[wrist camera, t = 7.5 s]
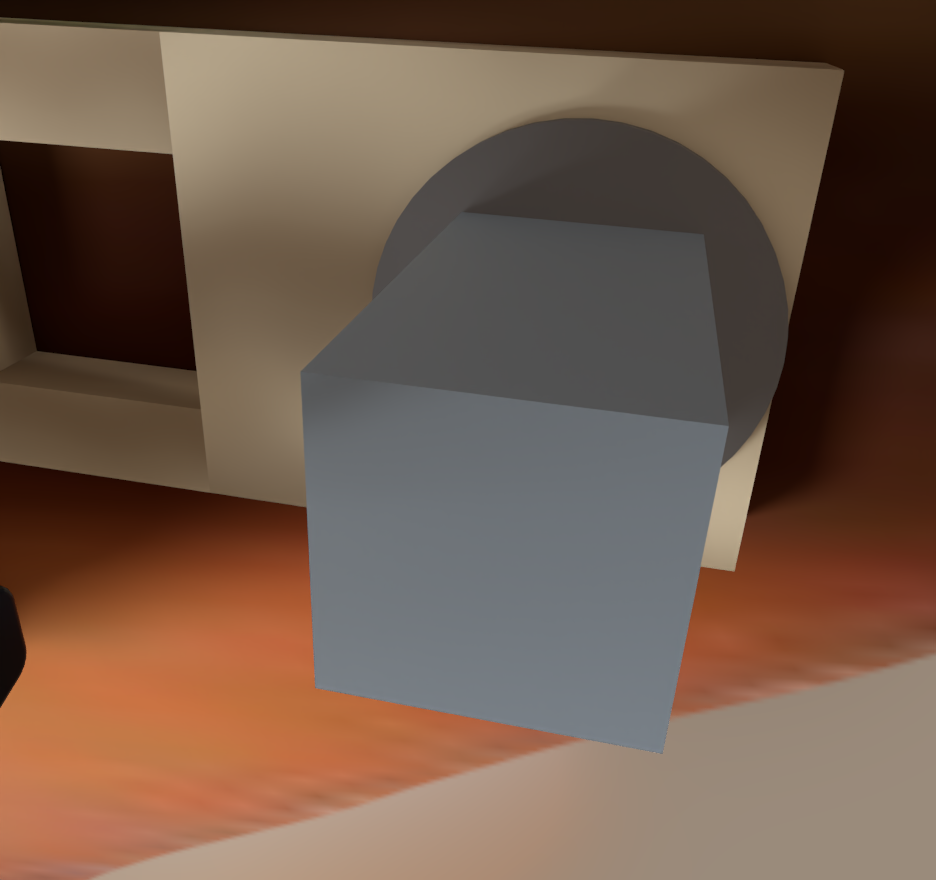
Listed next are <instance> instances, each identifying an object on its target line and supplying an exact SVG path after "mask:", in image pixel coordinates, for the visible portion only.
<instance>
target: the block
mask: <svg viewBox="0 0 936 880" xmlns="http://www.w3.org/2000/svg"><path fill="white" fill-rule="evenodd" d="M300 375H301V396H302V417H303V438H304V459H305V480H306V501H307V522H308V543H309V564H310V585H311V606H312V627H313V649H314V670H315V688H318V689H323V690H329V691H334V692H339V693H345V694H350V695H355V696H360V697H366V698H371V699H376V700H381V701H387V702H392V703H397V704H403V705H408V706H413V707H418V708H424V709H429V710H434V711H439V712H445V713H450V714H455V715H461V716H466V717H471V718H476V719H482V720H487V721H492V722H497V723H503V724H508V725H513V726H518V727H524V728H529V729H534V730H540V731H545V732H550V733H555V734H561V735H566V736H571V737H576V738H582V739H587V740H592V741H598V742H603V743H608V744H614V745H619V746H624V747H629V748H635V749H640V750H645V751H650V752H656V753H661V754H662V753H663V749H664V744H665V739H666V734H667V729H668V724H669V719H670V714H671V709H672V704H673V699H674V695H675V690H676V685H677V680H678V675H679V670H680V665H681V660H682V655H683V650H684V645H685V640H686V635H687V630H688V626H689V621H690V616H691V611H692V606H693V601H694V596H695V591H696V586H697V581H698V576H699V571H700V566H701V561H702V557H703V552H704V547H705V542H706V537H707V532H708V527H709V522H710V517H711V512H712V507H713V502H714V497H715V492H716V488H717V483H718V478H719V473H720V468H721V463H722V458H723V453H724V448H725V443H726V438H727V433H728V428H729V423H728V415H727V408H726V400H725V392H724V385H723V377H722V370H721V362H720V354H719V347H718V339H717V331H716V324H715V316H714V309H713V301H712V293H711V286H710V278H709V271H708V263H707V255H706V248H705V240H704V234H695V233H684V232H674V231H663V230H652V229H641V228H630V227H619V226H609V225H598V224H587V223H576V222H565V221H555V220H544V219H533V218H522V217H511V216H500V215H490V214H479V213H468V212H461V213H460V214H459V215H458V216H457V217H456V218H455V219H454V220H453V221H452V222H451V223H450V224H449V225H448V226H447V227H446V228H445V229H444V230H443V231H442V232H441V233H440V234H439V235H438V236H437V237H436V238H435V239H434V240H433V241H432V242H431V243H430V244H429V245H428V246H427V247H426V248H425V249H424V250H423V251H422V252H421V253H420V254H419V255H418V256H417V257H416V258H415V259H414V260H413V261H412V262H411V263H410V264H409V265H408V266H407V267H406V268H405V269H404V270H403V271H402V272H401V273H400V274H399V275H398V276H397V277H396V278H394V279H393V280H392V281H391V282H390V283H389V284H388V285H387V286H386V287H385V288H384V289H383V290H382V291H381V292H380V293H379V294H378V295H377V296H376V297H375V298H374V299H373V300H372V301H371V302H370V303H369V304H368V305H367V306H366V307H365V308H364V309H363V310H362V311H361V312H360V313H359V314H358V315H357V316H356V317H355V318H354V319H353V320H352V321H351V322H350V323H349V324H348V325H347V326H346V327H345V328H344V329H343V330H342V331H341V332H340V333H339V334H338V335H337V336H336V337H335V338H334V339H333V340H332V341H331V342H330V343H329V344H328V345H327V346H326V347H325V348H324V349H323V350H322V351H321V352H320V353H319V354H318V355H317V356H316V357H315V358H314V359H313V360H312V361H311V362H310V363H309V364H308V365H307V366H306V367H305V368H304V369H303V370H302V371H301V372H300Z"/></svg>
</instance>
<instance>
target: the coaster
mask: <svg viewBox="0 0 936 880" xmlns="http://www.w3.org/2000/svg"><path fill="white" fill-rule="evenodd" d="M461 212H468V213H479V214H490V215H500V216H511V217H522V218H533V219H544V220H555V221H565V222H576V223H587V224H598V225H609V226H619V227H630V228H641V229H652V230H663V231H674V232H684V233H695V234H704V240H705V248H706V255H707V263H708V271H709V278H710V286H711V293H712V301H713V309H714V316H715V324H716V331H717V339H718V347H719V354H720V362H721V370H722V377H723V385H724V392H725V400H726V408H727V415H728V423H729V428H728V433H727V438H726V443H725V448H724V453H723V458H722V463H721V467H722V466H723V465H724V464H725V463H726V462H727V461H728V460H729V459H730V458H731V457H733V456H734V455H735V454H736V452H737V451H738V450H739V449H740V448H741V447H742V445H743V444H744V443H745V442H746V441H747V439H748V438H749V437H750V436H751V435H752V433H753V432H754V430H755V428H756V427H757V425H758V424H759V422H760V421H761V419H762V417H763V416H764V414H765V413H766V411H767V408H768V406H769V404H770V402H771V400H772V398H773V395H774V393H775V391H776V389H777V386H778V382H779V379H780V375H781V372H782V369H783V365H784V361H785V354H786V347H787V341H788V304H787V298H786V291H785V284H784V279H783V276H782V273H781V269H780V266H779V263H778V259H777V256H776V253H775V251H774V248H773V246H772V244H771V242H770V240H769V237H768V235H767V233H766V231H765V229H764V227H763V225H762V223H761V221H760V220H759V218H758V217H757V215H756V214H755V212H754V211H753V209H752V207H751V206H750V204H749V203H748V201H747V200H746V199H745V197H744V196H743V195H742V194H741V193H740V192H739V191H738V190H737V188H736V187H735V186H734V185H733V184H732V183H731V182H730V181H729V179H728V178H727V177H726V176H724V175H723V174H722V173H721V172H720V171H718V170H717V169H716V168H715V167H714V166H713V165H711V164H710V163H709V162H708V161H707V160H705V159H704V158H703V157H701V156H699V155H698V154H696V153H695V152H693V151H691V150H690V149H688V148H687V147H685V146H683V145H682V144H680V143H679V142H676V141H674V140H672V139H670V138H667V137H665V136H663V135H660V134H658V133H656V132H654V131H651V130H648V129H644V128H641V127H637V126H634V125H630V124H627V123H623V122H617V121H609V120H602V119H595V118H562V119H555V120H548V121H541V122H534V123H530V124H527V125H523V126H520V127H516V128H513V129H509V130H506V131H504V132H502V133H499V134H497V135H495V136H493V137H490V138H488V139H486V140H484V141H481V142H479V143H478V144H476V145H475V146H473V147H471V148H470V149H468V150H467V151H465V152H463V153H462V154H460V155H458V156H457V157H455V158H454V159H453V160H451V161H450V162H449V163H448V164H447V165H445V166H444V167H443V168H442V169H440V170H439V171H438V172H437V173H436V174H434V175H433V176H432V177H431V178H430V179H429V180H428V181H427V182H426V183H425V184H424V186H423V187H422V188H421V189H420V190H419V191H418V192H417V193H416V194H415V195H414V196H413V198H412V199H411V200H410V202H409V203H408V205H407V206H406V208H405V209H404V211H403V212H402V214H401V215H400V216H399V218H398V219H397V221H396V223H395V225H394V227H393V229H392V231H391V233H390V235H389V237H388V239H387V241H386V243H385V246H384V249H383V252H382V255H381V258H380V261H379V264H378V267H377V272H376V277H375V282H374V288H373V293H372V300H373V299H374V298H375V297H376V296H377V295H378V294H379V293H380V292H381V291H382V290H383V289H384V288H385V287H386V286H387V285H388V284H389V283H390V282H391V281H392V280H393V279H394V278H396V277H397V276H398V275H399V274H400V273H401V272H402V271H403V270H404V269H405V268H406V267H407V266H408V265H409V264H410V263H411V262H412V261H413V260H414V259H415V258H416V257H417V256H418V255H419V254H420V253H421V252H422V251H423V250H424V249H425V248H426V247H427V246H428V245H429V244H430V243H431V242H432V241H433V240H434V239H435V238H436V237H437V236H438V235H439V234H440V233H441V232H442V231H443V230H444V229H445V228H446V227H447V226H448V225H449V224H450V223H451V222H452V221H453V220H454V219H455V218H456V217H457V216H458V215H459V214H460V213H461Z"/></svg>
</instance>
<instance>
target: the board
mask: <svg viewBox="0 0 936 880" xmlns="http://www.w3.org/2000/svg"><path fill="white" fill-rule="evenodd" d="M843 75H844V70H843V69H840V68H838V67H835V66H832V65H830V64H827V63H819V62H801V61H783V60H765V59H746V58H728V57H710V56H692V55H674V54H656V53H637V52H619V51H601V50H583V49H565V48H547V47H529V46H510V45H492V44H474V43H456V42H438V41H420V40H402V39H383V38H365V37H347V36H329V35H311V34H293V33H275V32H256V31H238V30H220V29H202V28H184V27H166V26H148V25H129V24H111V23H93V22H75V21H57V20H39V19H20V18H2V17H0V140H6V141H18V142H30V143H43V144H55V145H67V146H80V147H92V148H104V149H116V150H129V151H141V152H153V153H166V154H173V161H174V170H175V180H176V189H177V198H178V207H179V216H180V225H181V234H182V243H183V252H184V261H185V270H186V279H187V288H188V297H189V306H190V315H191V324H192V333H193V342H194V352H195V361H196V370H197V371H191V370H183V369H176V368H168V367H160V366H152V365H144V364H136V363H128V362H120V361H112V360H104V359H96V358H88V357H80V356H72V355H64V354H56V353H48V352H40V351H37V349H36V344H35V339H34V334H33V329H32V324H31V319H30V314H29V309H28V304H27V299H26V294H25V289H24V284H23V279H22V274H21V269H20V264H19V259H18V254H17V249H16V244H15V239H14V233H13V228H12V223H11V218H10V213H9V208H8V203H7V198H6V193H5V188H4V183H3V178H2V173H1V168H0V461H3V462H9V463H16V464H23V465H29V466H36V467H42V468H49V469H56V470H62V471H69V472H76V473H82V474H89V475H96V476H102V477H109V478H116V479H122V480H129V481H136V482H142V483H149V484H156V485H162V486H169V487H176V488H182V489H189V490H196V491H202V492H209V493H216V494H222V495H229V496H236V497H242V498H249V499H256V500H262V501H269V502H275V503H282V504H289V505H295V506H302V507H307V501H306V480H305V459H304V438H303V417H302V396H301V375H300V372H301V371H302V370H303V369H304V368H305V367H306V366H307V365H308V364H309V363H310V362H311V361H312V360H313V359H314V358H315V357H316V356H317V355H318V354H319V353H320V352H321V351H322V350H323V349H324V348H325V347H326V346H327V345H328V344H329V343H330V342H331V341H332V340H333V339H334V338H335V337H336V336H337V335H338V334H339V333H340V332H341V331H342V330H343V329H344V328H345V327H346V326H347V325H348V324H349V323H350V322H351V321H352V320H353V319H354V318H355V317H356V316H357V315H358V314H359V313H360V312H361V311H362V310H363V309H364V308H365V307H366V306H367V305H368V304H369V303H370V302H371V301H372V293H373V288H374V282H375V277H376V272H377V267H378V264H379V261H380V258H381V255H382V252H383V249H384V246H385V243H386V241H387V239H388V237H389V235H390V233H391V231H392V229H393V227H394V225H395V223H396V221H397V219H398V218H399V216H400V215H401V214H402V212H403V211H404V209H405V208H406V206H407V205H408V203H409V202H410V200H411V199H412V198H413V196H414V195H415V194H416V193H417V192H418V191H419V190H420V189H421V188H422V187H423V186H424V184H425V183H426V182H427V181H428V180H429V179H430V178H431V177H432V176H433V175H434V174H436V173H437V172H438V171H439V170H440V169H442V168H443V167H444V166H445V165H447V164H448V163H449V162H450V161H451V160H453V159H454V158H455V157H457V156H458V155H460V154H462V153H463V152H465V151H467V150H468V149H470V148H471V147H473V146H475V145H476V144H478V143H479V142H481V141H484V140H486V139H488V138H490V137H493V136H495V135H497V134H499V133H502V132H504V131H506V130H509V129H513V128H516V127H520V126H523V125H527V124H530V123H534V122H541V121H548V120H555V119H562V118H595V119H602V120H609V121H617V122H623V123H627V124H630V125H634V126H637V127H641V128H644V129H648V130H651V131H654V132H656V133H658V134H660V135H663V136H665V137H667V138H670V139H672V140H674V141H676V142H679V143H680V144H682V145H683V146H685V147H687V148H688V149H690V150H691V151H693V152H695V153H696V154H698V155H699V156H701V157H703V158H704V159H705V160H707V161H708V162H709V163H710V164H711V165H713V166H714V167H715V168H716V169H717V170H718V171H720V172H721V173H722V174H723V175H724V176H726V177H727V178H728V179H729V181H730V182H731V183H732V184H733V185H734V186H735V187H736V188H737V190H738V191H739V192H740V193H741V194H742V195H743V196H744V197H745V199H746V200H747V201H748V203H749V204H750V206H751V207H752V209H753V211H754V212H755V214H756V215H757V217H758V218H759V220H760V221H761V223H762V225H763V227H764V229H765V231H766V233H767V235H768V237H769V240H770V242H771V244H772V246H773V248H774V251H775V253H776V256H777V259H778V263H779V266H780V269H781V273H782V276H783V279H784V284H785V291H786V298H787V304H788V325H789V321H790V316H791V311H792V307H793V302H794V298H795V293H796V289H797V284H798V280H799V275H800V271H801V266H802V261H803V257H804V252H805V248H806V243H807V239H808V234H809V230H810V225H811V220H812V216H813V211H814V207H815V202H816V198H817V193H818V189H819V184H820V180H821V175H822V170H823V166H824V161H825V157H826V152H827V148H828V143H829V139H830V134H831V130H832V125H833V120H834V116H835V111H836V107H837V102H838V98H839V93H840V89H841V84H842V80H843ZM771 402H772V400H771ZM771 402H770V404H769V406H768V408H767V411H766V413H765V414H764V416H763V417H762V419H761V421H760V422H759V424H758V425H757V427H756V428H755V430H754V432H753V433H752V435H751V436H750V437H749V438H748V439H747V441H746V442H745V443H744V444H743V445H742V447H741V448H740V449H739V450H738V451H737V452H736V454H735V455H734V456H733V457H731V458H730V459H729V460H728V461H727V462H726V463H725V464H724V465H723V466H722V467H721V468H720V473H719V478H718V483H717V488H716V492H715V497H714V502H713V507H712V512H711V517H710V522H709V527H708V532H707V537H706V542H705V547H704V552H703V557H702V561H701V566H702V567H708V568H715V569H722V570H728V571H735V566H736V561H737V557H738V552H739V548H740V543H741V539H742V534H743V530H744V525H745V521H746V516H747V511H748V507H749V502H750V498H751V493H752V489H753V484H754V480H755V475H756V471H757V466H758V461H759V457H760V452H761V448H762V443H763V439H764V434H765V430H766V425H767V421H768V416H769V411H770V407H771Z"/></svg>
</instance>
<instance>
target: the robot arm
mask: <svg viewBox="0 0 936 880" xmlns="http://www.w3.org/2000/svg"><path fill="white" fill-rule="evenodd" d="M25 660H26V645H25V641H24V637H23V633H22V629H21V625H20V621H19V616H18V612H17V608H16V604H15V600H14V597H13V595H12V594H11V592H10V591H9V590H8V589H7V588H5V587H3V586H1V585H0V707H1V706H2V704H3V703H4V701H5V699H6V698H7V696H8V694H9V693H10V691H11V690H12V688H13V686H14V685H15V683H16V681H17V680H18V678H19V676H20V675H21V673H22V670H23V668H24V665H25Z"/></svg>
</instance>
